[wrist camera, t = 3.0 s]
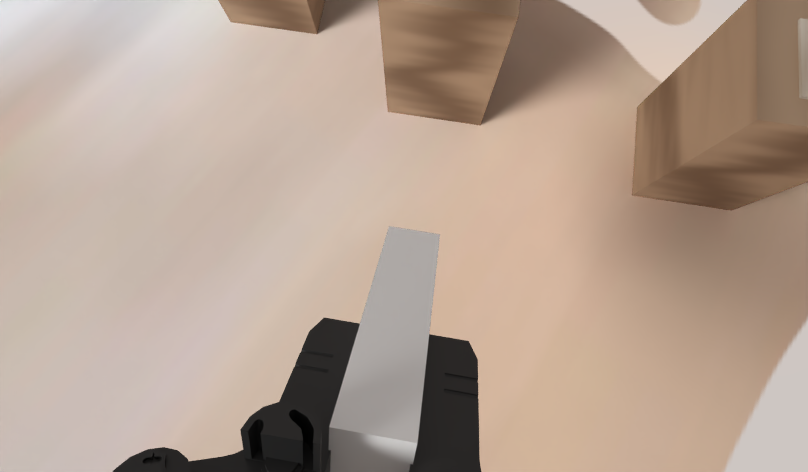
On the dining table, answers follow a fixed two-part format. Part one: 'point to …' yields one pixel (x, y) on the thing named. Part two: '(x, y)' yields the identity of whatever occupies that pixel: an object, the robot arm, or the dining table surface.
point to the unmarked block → (444, 55)
